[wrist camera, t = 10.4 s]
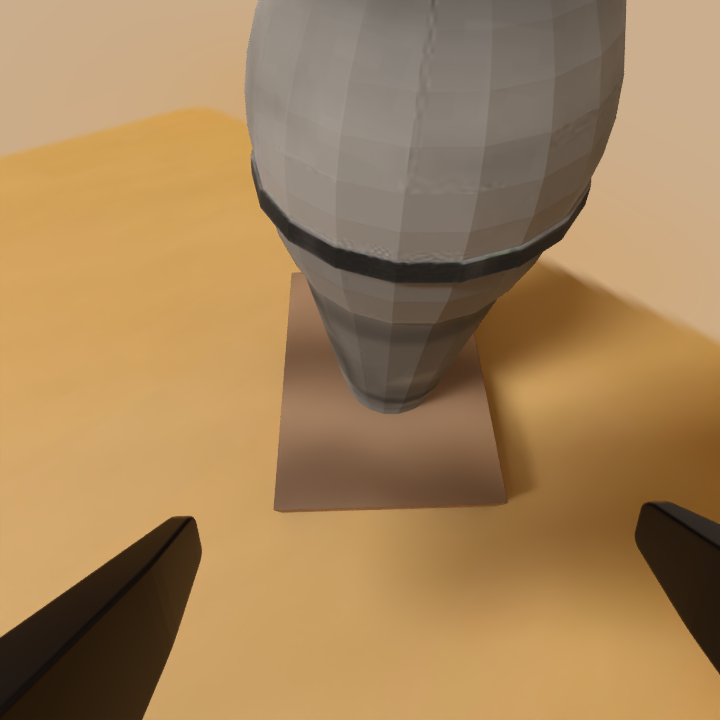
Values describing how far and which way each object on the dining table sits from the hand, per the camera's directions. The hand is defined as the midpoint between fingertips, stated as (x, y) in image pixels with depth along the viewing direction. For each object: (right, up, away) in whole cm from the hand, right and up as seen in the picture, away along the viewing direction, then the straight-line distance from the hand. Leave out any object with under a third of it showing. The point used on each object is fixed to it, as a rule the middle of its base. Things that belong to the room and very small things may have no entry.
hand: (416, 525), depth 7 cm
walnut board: (0, +2, +12) cm, 13 cm away
